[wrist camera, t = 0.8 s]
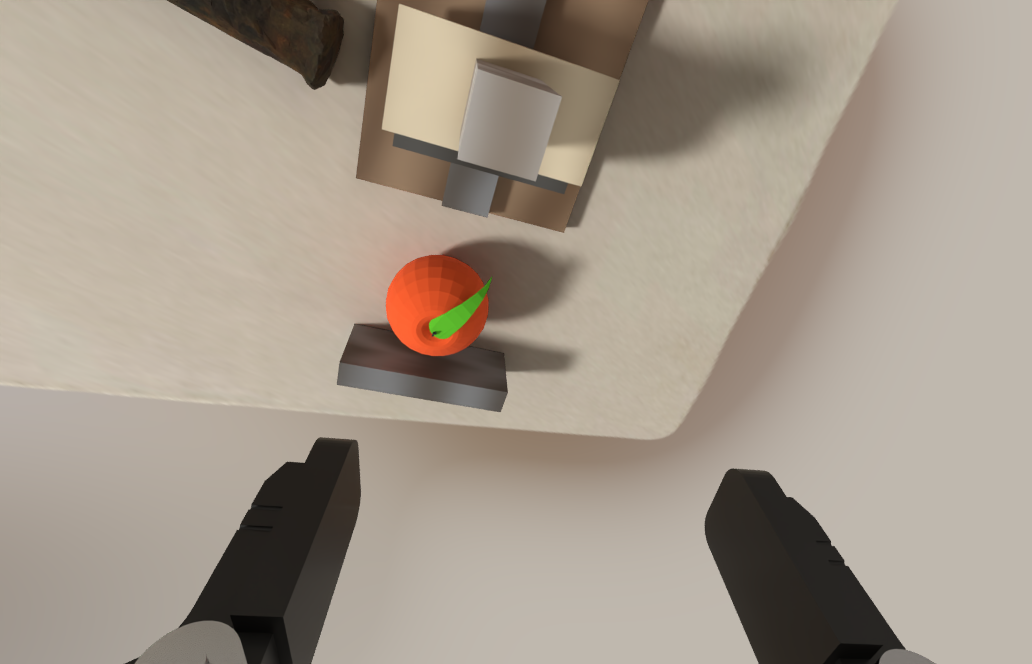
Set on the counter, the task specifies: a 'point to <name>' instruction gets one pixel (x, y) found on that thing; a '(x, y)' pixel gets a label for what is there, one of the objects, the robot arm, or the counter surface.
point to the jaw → (492, 103)
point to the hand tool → (278, 31)
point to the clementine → (437, 305)
